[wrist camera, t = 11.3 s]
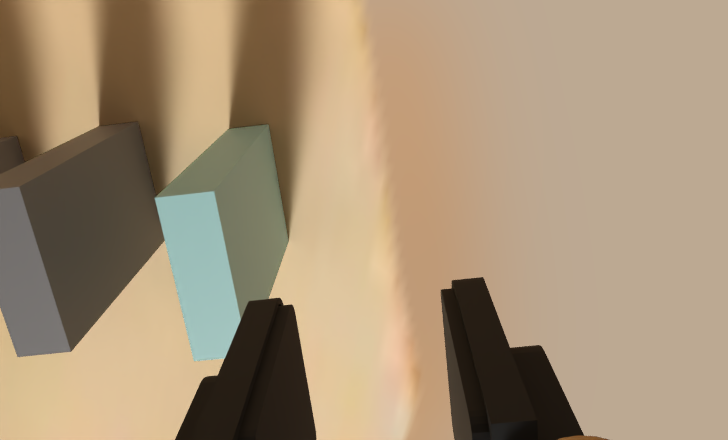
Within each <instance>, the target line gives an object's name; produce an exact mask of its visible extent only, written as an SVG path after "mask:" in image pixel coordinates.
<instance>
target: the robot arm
mask: <svg viewBox="0 0 728 440" xmlns="http://www.w3.org/2000/svg"><path fill="white" fill-rule="evenodd" d="M441 302H442V312H443V324H444V336H445V347H446V358H447V370H448V381H449V392H450V403H451V416H452V425H453V432H454V439H455V440H608V439H604V438H600V437H596V436H584V434H583V432H582V430H581V428H580V426H579V424H578V422H577V419H576V417H575V415H574V413H573V411H572V409H571V407H570V405H569V402H568V400H567V398H566V396H565V394H564V392H563V390H562V388H561V386H560V384H559V381H558V379H557V377H556V375H555V373H554V371H553V369H552V366H551V364H550V362H549V360H548V358H547V356H546V354H545V352H544V350H543V348H542V347H541V346H539V345H536V346H525V347H515V348H510V347H509V344H508V342H507V339H506V336H505V334H504V331H503V328H502V326H501V323H500V320H499V318H498V315H497V312H496V310H495V307H494V305H493V302H492V299H491V297H490V294H489V291H488V289H487V286H486V283H485V281H484V279H483V277H481V278H471V279H462V280H453V281H452V289H443V290H441ZM175 440H316V430H315V424H314V418H313V413H312V407H311V401H310V395H309V390H308V384H307V378H306V373H305V367H304V361H303V355H302V350H301V344H300V338H299V333H298V327H297V321H296V315H295V310H294V307H293V305H283V303H282V300H281V299H280V298H273V299H263V300H253V301H249V302H248V304H247V306H246V308H245V311H244V313H243V316H242V318H241V320H240V323H239V325H238V328H237V330H236V333H235V335H234V337H233V340H232V342H231V345H230V347H229V350H228V352H227V354H226V357H225V359H224V362H223V364H222V367H221V369H220V371H219V374H218V376H208V377H205V378H204V379H203V380H202V382H201V383H200V385H199V388H198V390H197V392H196V394H195V396H194V399H193V401H192V403H191V405H190V408H189V410H188V412H187V414H186V417H185V419H184V421H183V423H182V425H181V428H180V430H179V432H178V434H177V437H176V439H175Z"/></svg>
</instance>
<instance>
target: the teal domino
mask: <svg viewBox="0 0 728 440" xmlns="http://www.w3.org/2000/svg"><path fill="white" fill-rule="evenodd" d="M155 202H156V206H157V210H158V214H159V218H160V222H161V226H162V231H163V235H164V239H165V243H166V247H167V251H168V255H169V260H170V264H171V268H172V272H173V276H174V280H175V284H176V289H177V293H178V297H179V301H180V305H181V309H182V313H183V318H184V322H185V326H186V330H187V334H188V338H189V342H190V347H191V351H192V355H193V359H194V361H202V360H213V359H223V358H225V357H226V354H227V352H228V350H229V347H230V345H231V342H232V340H233V337H234V335H235V333H236V330H237V328H238V325H239V323H240V320H241V318H242V316H243V313H244V311H245V308H246V306H247V304H248V302H249V301H253V300H263V299H268V298H269V296H270V293H271V290H272V287H273V284H274V281H275V279H276V276H277V273H278V270H279V267H280V264H281V261H282V259H283V256H284V253H285V250H286V247H287V244H288V241H289V240H288V235H287V229H286V223H285V217H284V211H283V205H282V200H281V194H280V188H279V182H278V176H277V170H276V165H275V159H274V153H273V147H272V141H271V135H270V130H269V124H266V125H257V126H249V127H240V128H232V129H228V130H227V131H226V132H225V133H224V134H223V135H222V136H221V137H220V138H218V139H217V140H216V141H215V142H214V143H213V144H212V145H211V146H210V147H209V148H208V149H207V150H206V151H204V152H203V153H202V154H201V155H200V156H199V157H198V158H197V159H196V160H195V161H194V162H193V163H192V164H190V165H189V166H188V167H187V168H186V169H185V170H184V171H183V172H182V173H181V174H180V175H179V176H178V177H176V178H175V179H174V180H173V181H172V182H171V183H170V184H169V185H168V186H167V187H166V188H165V189H164V190H162V191H161V192H160V193H159V194H158V195H157V196H156V197H155Z"/></svg>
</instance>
